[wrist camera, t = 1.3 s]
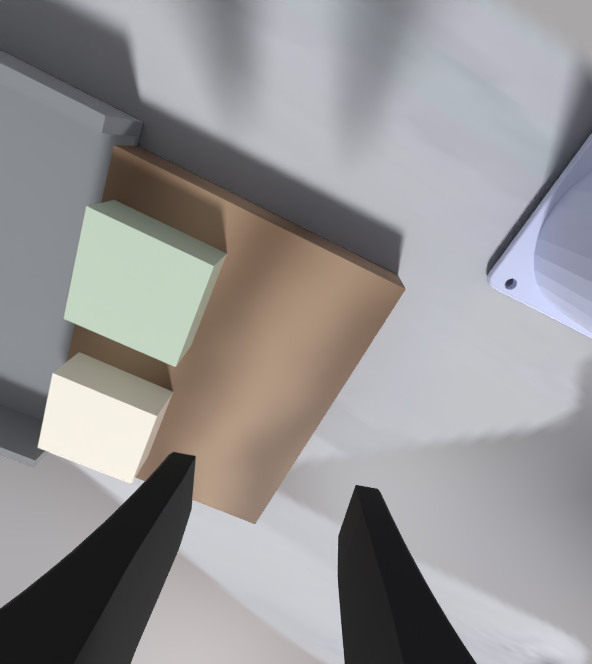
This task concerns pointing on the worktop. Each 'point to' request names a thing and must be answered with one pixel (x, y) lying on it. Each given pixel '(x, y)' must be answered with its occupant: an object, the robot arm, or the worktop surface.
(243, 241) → the walnut plate
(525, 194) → the worktop surface
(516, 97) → the worktop surface
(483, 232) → the worktop surface
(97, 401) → the cream tile
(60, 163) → the box
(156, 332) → the sage tile
